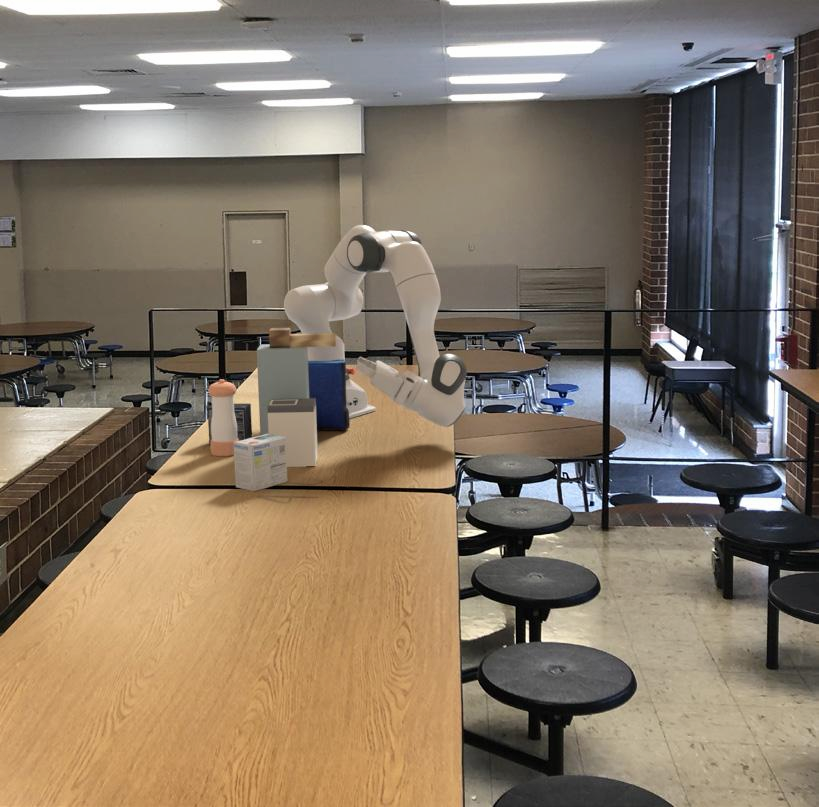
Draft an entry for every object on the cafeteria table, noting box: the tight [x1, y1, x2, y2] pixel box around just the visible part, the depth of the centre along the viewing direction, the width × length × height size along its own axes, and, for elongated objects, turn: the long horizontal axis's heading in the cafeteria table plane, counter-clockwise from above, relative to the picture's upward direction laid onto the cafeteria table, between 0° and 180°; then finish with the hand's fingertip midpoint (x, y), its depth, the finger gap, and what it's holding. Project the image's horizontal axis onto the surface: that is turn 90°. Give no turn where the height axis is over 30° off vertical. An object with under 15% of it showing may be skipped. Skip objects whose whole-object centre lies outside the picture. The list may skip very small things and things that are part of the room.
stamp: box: [268, 327, 337, 348], centre depth 283 cm, size 16×5×4 cm, turn 91°
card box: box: [267, 398, 319, 468], centre depth 274 cm, size 11×10×15 cm
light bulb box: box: [233, 434, 288, 492], centre depth 254 cm, size 11×7×11 cm, turn 141°
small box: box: [206, 403, 253, 447], centre depth 297 cm, size 11×6×10 cm, turn 84°
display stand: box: [256, 343, 309, 436], centre depth 286 cm, size 13×11×27 cm
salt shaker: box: [207, 378, 239, 457], centre depth 285 cm, size 7×7×19 cm
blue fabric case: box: [308, 359, 351, 431], centre depth 310 cm, size 14×5×20 cm, turn 84°
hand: (357, 362), depth 285 cm, fingers open, 8 cm apart
